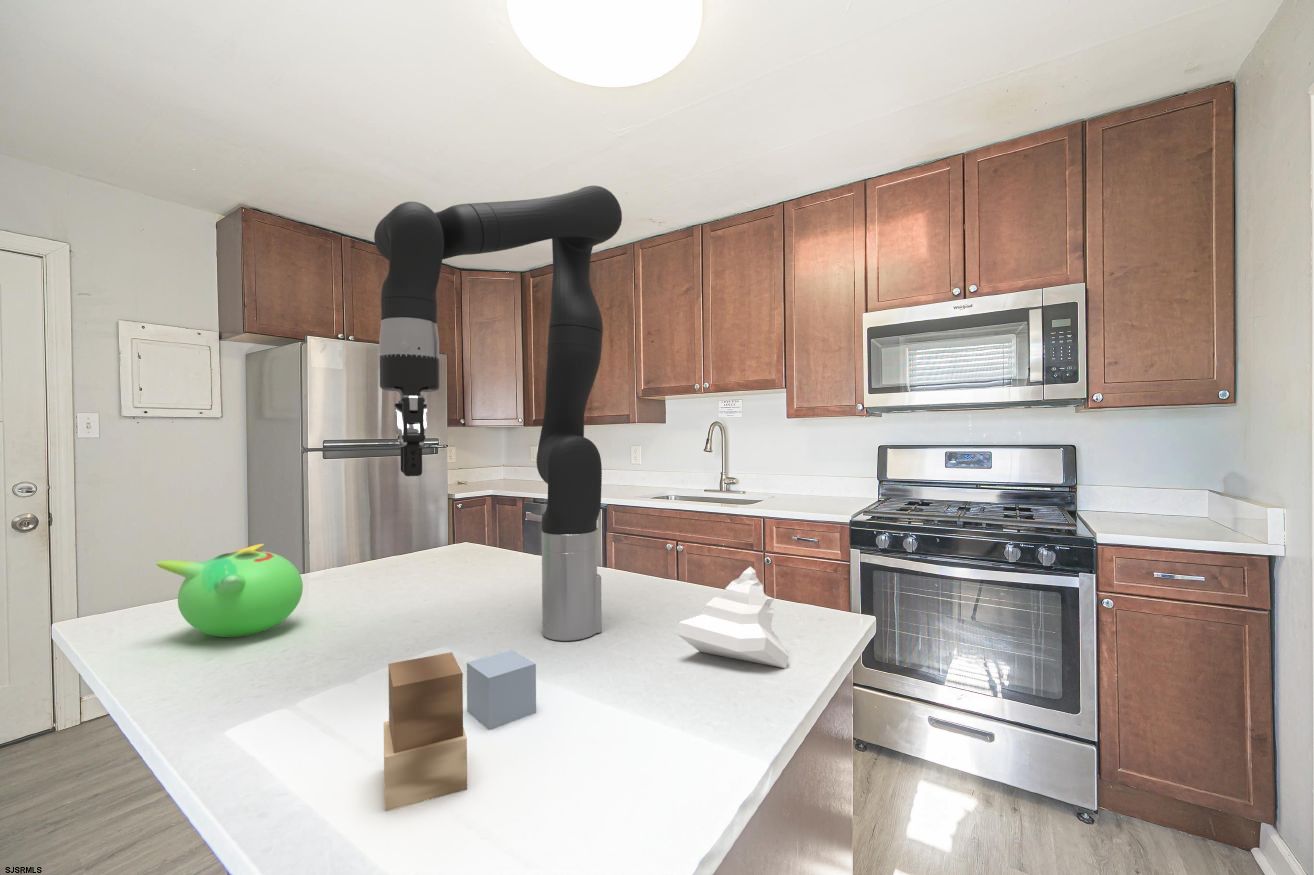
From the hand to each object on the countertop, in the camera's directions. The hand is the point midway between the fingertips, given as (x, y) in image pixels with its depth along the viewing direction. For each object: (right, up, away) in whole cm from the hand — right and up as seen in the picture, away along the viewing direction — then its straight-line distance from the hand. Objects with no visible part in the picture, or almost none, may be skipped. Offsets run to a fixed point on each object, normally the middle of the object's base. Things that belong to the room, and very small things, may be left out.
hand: (410, 474), depth 78 cm
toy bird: (-37, -29, +18) cm, 50 cm away
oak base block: (+11, -28, -23) cm, 38 cm away
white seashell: (+46, -28, +7) cm, 55 cm away
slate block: (+15, -28, -9) cm, 33 cm away
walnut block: (+11, -23, -23) cm, 34 cm away
